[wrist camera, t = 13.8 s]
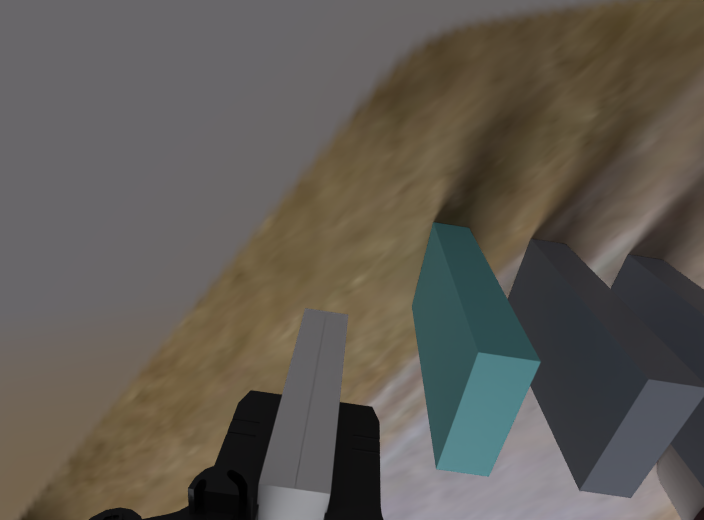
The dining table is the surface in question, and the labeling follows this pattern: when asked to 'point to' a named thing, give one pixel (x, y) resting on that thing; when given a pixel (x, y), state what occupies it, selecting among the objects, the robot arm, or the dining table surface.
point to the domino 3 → (671, 333)
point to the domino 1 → (468, 353)
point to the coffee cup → (681, 485)
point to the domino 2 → (599, 372)
